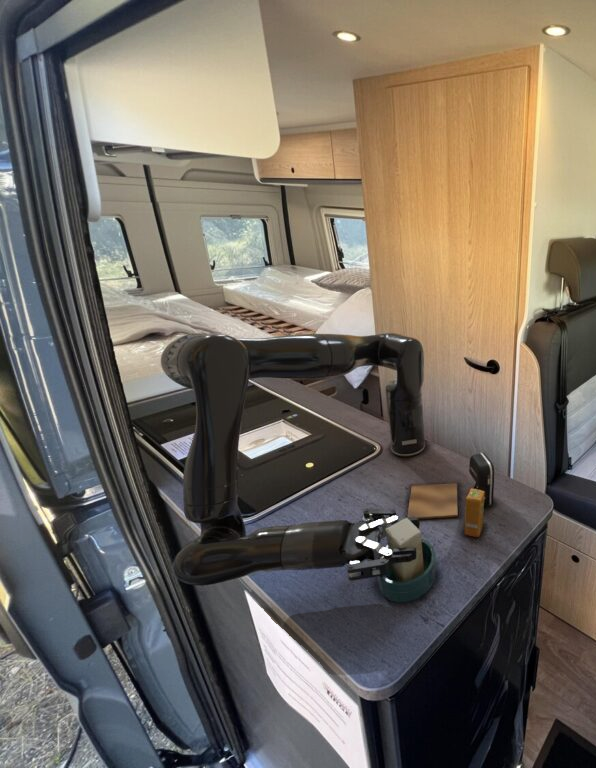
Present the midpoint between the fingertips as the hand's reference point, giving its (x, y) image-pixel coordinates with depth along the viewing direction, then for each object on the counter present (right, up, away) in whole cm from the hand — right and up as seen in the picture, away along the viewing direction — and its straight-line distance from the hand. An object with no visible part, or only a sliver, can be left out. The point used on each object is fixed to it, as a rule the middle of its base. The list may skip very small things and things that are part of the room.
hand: (417, 537), depth 69 cm
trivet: (-2, 0, +22) cm, 22 cm away
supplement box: (+9, -5, +15) cm, 18 cm away
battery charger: (+9, 0, +24) cm, 26 cm away
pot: (-3, -9, +4) cm, 10 cm away
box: (-3, -9, +3) cm, 10 cm away
